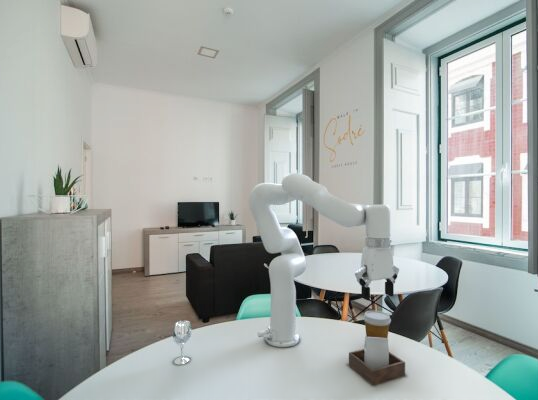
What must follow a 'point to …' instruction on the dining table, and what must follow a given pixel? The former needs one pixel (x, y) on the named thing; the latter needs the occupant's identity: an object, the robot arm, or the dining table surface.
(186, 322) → the wineglass
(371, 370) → the crate
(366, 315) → the disposable coffee cup
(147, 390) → the dining table surface
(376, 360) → the white food carton
